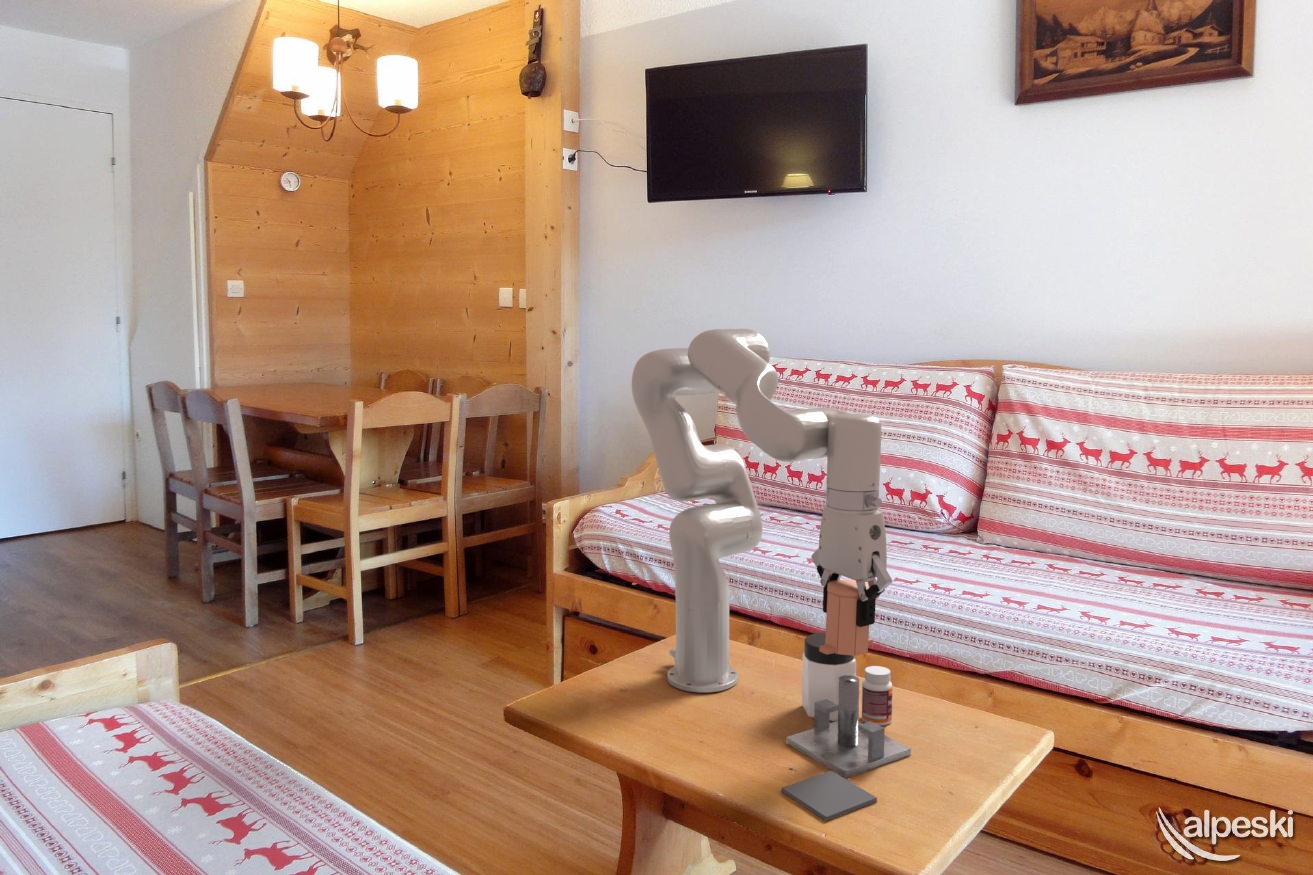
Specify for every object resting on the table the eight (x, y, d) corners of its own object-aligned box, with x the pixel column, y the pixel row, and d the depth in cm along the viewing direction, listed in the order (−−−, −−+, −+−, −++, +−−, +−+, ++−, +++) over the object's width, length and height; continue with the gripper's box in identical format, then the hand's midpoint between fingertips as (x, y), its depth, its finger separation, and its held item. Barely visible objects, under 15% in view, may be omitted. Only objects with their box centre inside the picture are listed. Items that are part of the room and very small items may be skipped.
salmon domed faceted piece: (853, 636, 144) (857, 576, 143) (884, 649, 139) (887, 587, 138) (808, 646, 140) (811, 584, 139) (838, 659, 134) (841, 594, 133)
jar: (825, 725, 149) (826, 653, 148) (791, 708, 156) (792, 638, 154) (865, 712, 154) (867, 642, 153) (830, 695, 161) (832, 628, 159)
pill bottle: (894, 726, 149) (896, 675, 148) (864, 726, 149) (865, 675, 148) (888, 713, 154) (889, 664, 153) (858, 713, 154) (859, 664, 153)
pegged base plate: (786, 743, 143) (787, 674, 142) (849, 722, 150) (850, 657, 149) (845, 778, 132) (847, 703, 131) (910, 754, 139) (912, 683, 138)
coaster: (781, 791, 129) (781, 787, 129) (830, 774, 134) (830, 770, 134) (826, 821, 121) (826, 816, 121) (876, 801, 126) (876, 797, 126)
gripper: (915, 507, 131) (910, 630, 134) (830, 486, 146) (827, 598, 148) (876, 513, 127) (872, 640, 130) (793, 491, 142) (790, 606, 144)
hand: (848, 616), depth 139 cm, fingers closed on salmon domed faceted piece, 6 cm apart
